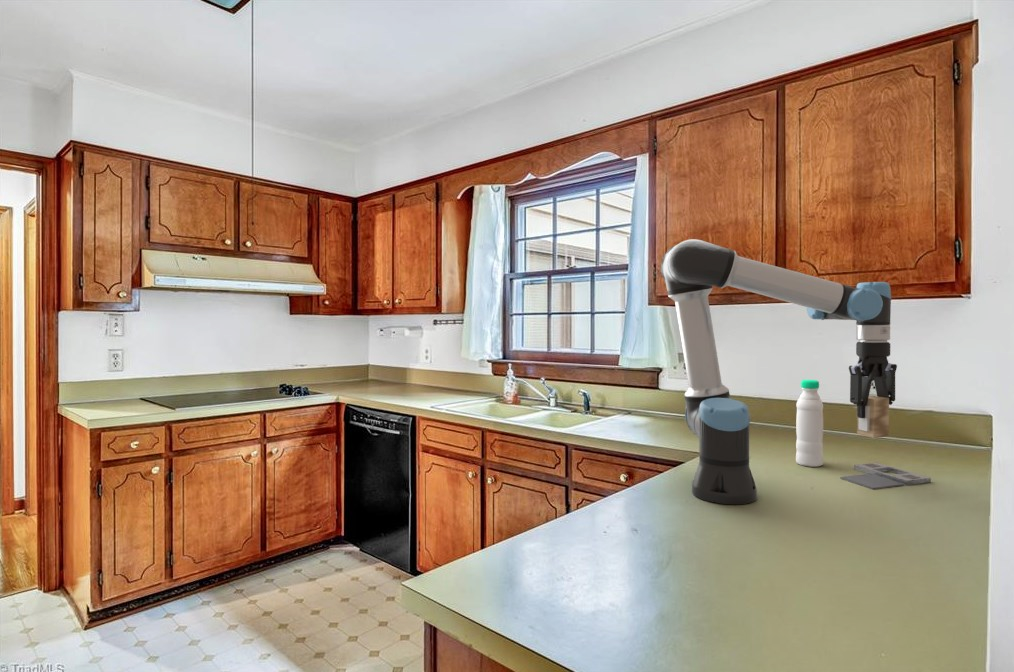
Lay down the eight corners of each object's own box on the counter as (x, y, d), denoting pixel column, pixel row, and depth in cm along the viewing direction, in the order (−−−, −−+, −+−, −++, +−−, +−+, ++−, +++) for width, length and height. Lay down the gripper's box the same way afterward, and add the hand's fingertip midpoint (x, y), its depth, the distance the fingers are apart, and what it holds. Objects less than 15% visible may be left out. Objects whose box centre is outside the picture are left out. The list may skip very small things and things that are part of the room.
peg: (873, 437, 146) (873, 399, 146) (856, 433, 151) (857, 396, 151) (888, 436, 148) (889, 398, 147) (871, 432, 153) (872, 395, 152)
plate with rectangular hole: (906, 485, 147) (906, 480, 147) (854, 468, 162) (854, 464, 162) (930, 482, 149) (930, 477, 149) (876, 466, 164) (876, 462, 164)
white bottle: (795, 465, 166) (796, 381, 165) (796, 460, 173) (796, 378, 171) (823, 468, 163) (824, 382, 162) (822, 462, 169) (823, 379, 168)
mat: (873, 489, 144) (873, 487, 144) (840, 478, 154) (840, 476, 154) (903, 485, 147) (903, 484, 147) (869, 474, 156) (869, 473, 156)
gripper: (857, 343, 142) (857, 434, 143) (913, 340, 147) (912, 429, 148) (833, 341, 150) (833, 429, 151) (887, 339, 154) (886, 424, 155)
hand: (872, 429), depth 149 cm, fingers closed on peg, 5 cm apart
